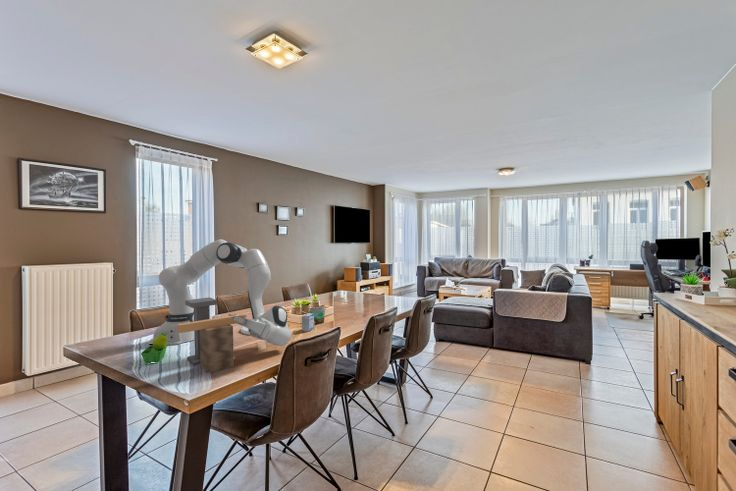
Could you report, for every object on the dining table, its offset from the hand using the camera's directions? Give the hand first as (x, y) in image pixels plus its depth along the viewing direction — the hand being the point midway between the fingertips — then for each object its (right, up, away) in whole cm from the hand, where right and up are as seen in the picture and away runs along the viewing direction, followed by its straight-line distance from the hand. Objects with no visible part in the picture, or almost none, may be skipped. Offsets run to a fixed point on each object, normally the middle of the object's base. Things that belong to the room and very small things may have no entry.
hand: (231, 316), depth 150 cm
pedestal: (-4, -20, -4) cm, 20 cm away
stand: (-14, -20, +4) cm, 24 cm away
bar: (-5, -3, -5) cm, 8 cm away
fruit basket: (-35, -20, +5) cm, 41 cm away
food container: (+28, -18, +68) cm, 76 cm away
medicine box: (+24, -18, +52) cm, 60 cm away
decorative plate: (-2, -19, +55) cm, 59 cm away
